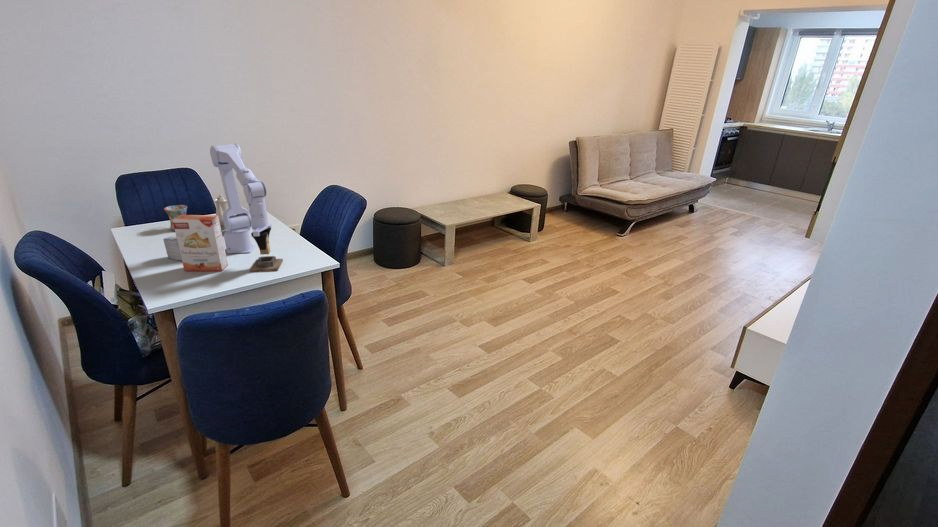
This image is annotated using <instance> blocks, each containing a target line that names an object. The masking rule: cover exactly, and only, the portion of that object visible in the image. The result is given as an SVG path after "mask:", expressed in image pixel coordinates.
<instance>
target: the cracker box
mask: <svg viewBox="0 0 938 527" xmlns="http://www.w3.org/2000/svg"><path fill="white" fill-rule="evenodd" d="M172 220H173V224H174V229H175V231H174V233H175V236H176V237H177V241H178V246H179V250H180V254H181V258H182V266H183V270H184V272H187V271H189V272H191V271H192V272H193V271H195V272H196V271H197V272H210V271H211V272H222V271H223V270H224V269H226V267H228V266H229V264H228V263H229V262H228V258H227V253H226V252H227V251H226V246H225V241H224V236H223V233H222V229H221V227H220V222H219V216H218V215H216V214H215V215H212V214H211V215H210V214H205V215H203V214H202V215H201V214H186V215H179V216H177V217H176V218H174V219H172Z"/></svg>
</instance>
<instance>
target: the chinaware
mask: <svg viewBox="0 0 938 527" xmlns="http://www.w3.org/2000/svg"><path fill="white" fill-rule="evenodd" d="M213 201H214V204H215V207H216V212H215V215H218V216H219V222H220V227H221V230H224V232H225V231H227V230H226V229H225V227H224V223H223V213H224V212H225V211H226V210H227V209H228V204H227V199H226V196H223V194H221V193H220V194H219V195H218V197H217V198H216V199H213ZM246 209H247V210H248V211H249V213H250V210H249V208H246ZM241 214H243V213H241ZM236 215H239V214H236ZM231 216H233V215H231Z"/></svg>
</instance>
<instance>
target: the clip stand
mask: <svg viewBox="0 0 938 527" xmlns="http://www.w3.org/2000/svg"><path fill="white" fill-rule="evenodd" d="M283 261H284V259H283V258H277V257H276V256H275V255H267V256H264V255H262V256H259V257H258V258H257V259H256V260H255V261H254V263H253V264H252V265H251V267H250V268H249V272H250V273H255V272H256V273H257V272H258V273H259V271H261V272H278V271H279V269H280V267H281V266H282V263H283Z"/></svg>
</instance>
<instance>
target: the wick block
mask: <svg viewBox="0 0 938 527" xmlns="http://www.w3.org/2000/svg"><path fill="white" fill-rule="evenodd" d="M263 233H268V232H263ZM270 253H271V246H270V237H269V238H268V234H267V238H266V250H260V249H259V254H260V256H261V255H262V256H264V255H270Z"/></svg>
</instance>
